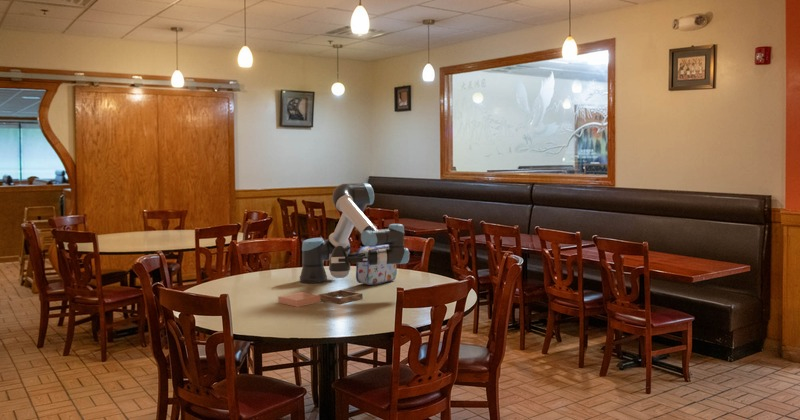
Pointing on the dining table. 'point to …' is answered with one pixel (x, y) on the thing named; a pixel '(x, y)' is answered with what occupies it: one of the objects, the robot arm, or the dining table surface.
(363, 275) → the lunch box
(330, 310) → the dining table surface
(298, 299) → the stand
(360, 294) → the brown wooden trivet
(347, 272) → the pump dispenser
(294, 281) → the dining table surface
